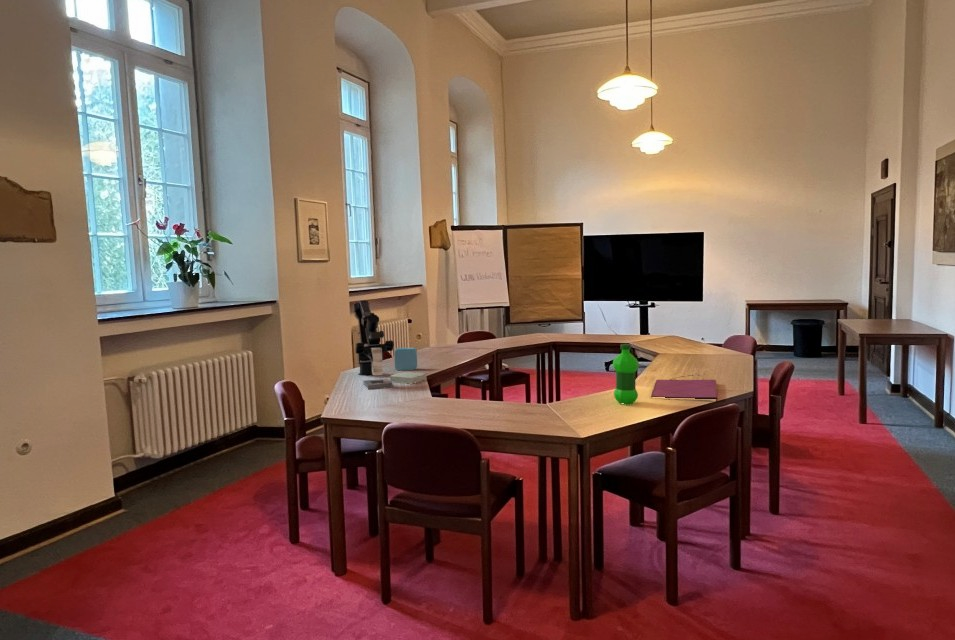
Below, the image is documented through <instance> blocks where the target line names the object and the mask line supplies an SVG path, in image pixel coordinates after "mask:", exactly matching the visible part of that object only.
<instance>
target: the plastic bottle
mask: <svg viewBox="0 0 955 640" xmlns="http://www.w3.org/2000/svg"><path fill="white" fill-rule="evenodd" d="M619 349H620V350H621V353H620V354H618V355H617V356H616V357H615V358H614V359H613V360H612V367H613V369H614V371H615V382H616V383H615V386H616V387H615V389H614V392H613V397H614V399H615V400H616V401H617V402H618V403H619V404H620V403H624V404H631V403H632V404H633V403H635V402H636V401H637V400H638V398H639V397H638V396H639V393H638V391H637V388H636V372H637V371H638V370H639V367H640V366H639V364H640V363H639V361H638V359H637V358H636V357H635V356H634V355H633V354H632V353H631V352H630V350H632V344H630V343H621V344H620V348H619ZM632 404H631V405H632Z"/></svg>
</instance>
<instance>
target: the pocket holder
mask: <svg viewBox="0 0 955 640" xmlns="http://www.w3.org/2000/svg"><path fill="white" fill-rule="evenodd" d="M364 385H365V386H366V387H367V388H368V389H367V388H366V387H365V386H364ZM363 386H364V387H365V388H366V389H367V390H374V388H376V389H383V388H384V387H387V388H393V382H390V379H388V378H379V379H366V380H363ZM384 389H385V388H384Z"/></svg>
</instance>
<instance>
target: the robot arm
mask: <svg viewBox="0 0 955 640" xmlns="http://www.w3.org/2000/svg"><path fill="white" fill-rule="evenodd" d="M352 312H353V313H354V317H355V319H356V320H357V322H358V331H359V340H360V342H356V343H355V349H354V351H355V354H357V358H356V361H357V364H358V365H359V373H358V374H362V375H361V376H369V375H373V374H372V361H373V357H372V354H371V348H377V347H380V348H382V362H383V360H384V355H385V353H387V352H393V350H394V346H395V342H394V341H393V340H385V342H384V343H381V339H383V338H385V332H384V330H379V331H378V330H377V329H378V328H379V322H380V317H379V316H378V315H377V314H375V313H374V312H371V307H370V303H369V301H368V300H366V299H364V300H363V299H362V300H358V301H357V302H355V303H353V305H352Z"/></svg>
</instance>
